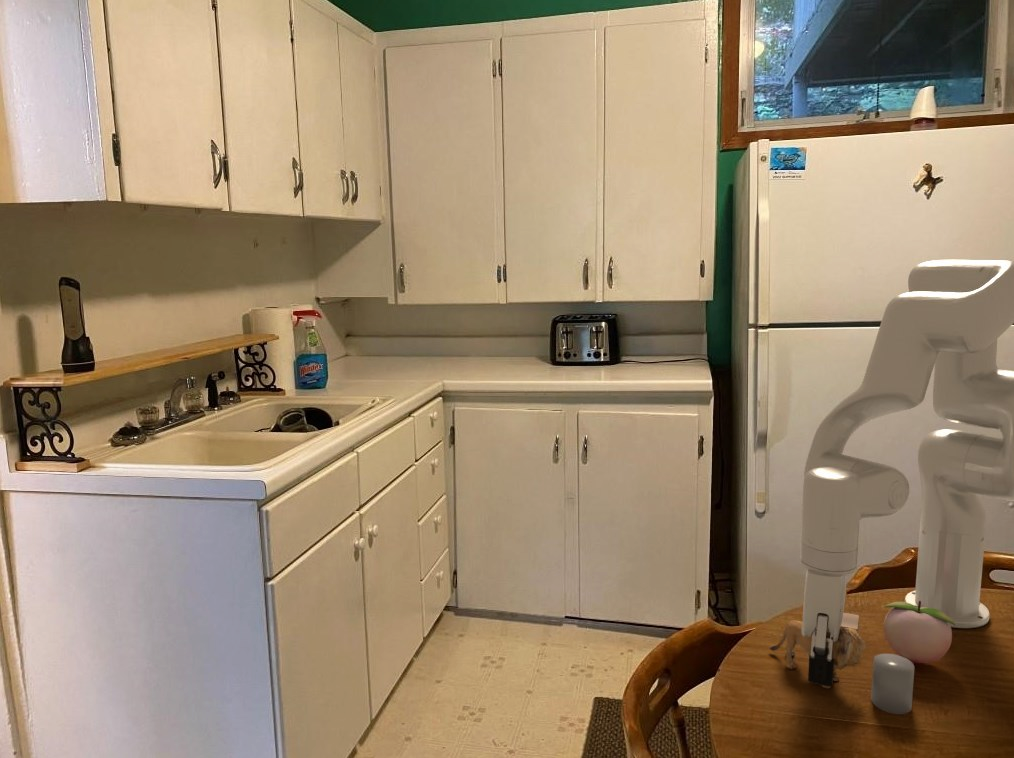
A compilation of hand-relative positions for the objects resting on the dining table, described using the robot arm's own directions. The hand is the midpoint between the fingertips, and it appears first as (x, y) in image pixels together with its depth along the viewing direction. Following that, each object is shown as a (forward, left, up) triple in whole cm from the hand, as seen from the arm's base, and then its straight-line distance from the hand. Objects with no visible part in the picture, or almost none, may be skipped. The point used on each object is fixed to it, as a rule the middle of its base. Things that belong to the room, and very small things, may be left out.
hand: (822, 670), depth 113 cm
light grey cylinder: (+3, +9, -1) cm, 10 cm away
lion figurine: (-1, -1, -1) cm, 2 cm away
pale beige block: (-12, +2, -1) cm, 12 cm away
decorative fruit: (-10, +12, -1) cm, 16 cm away
